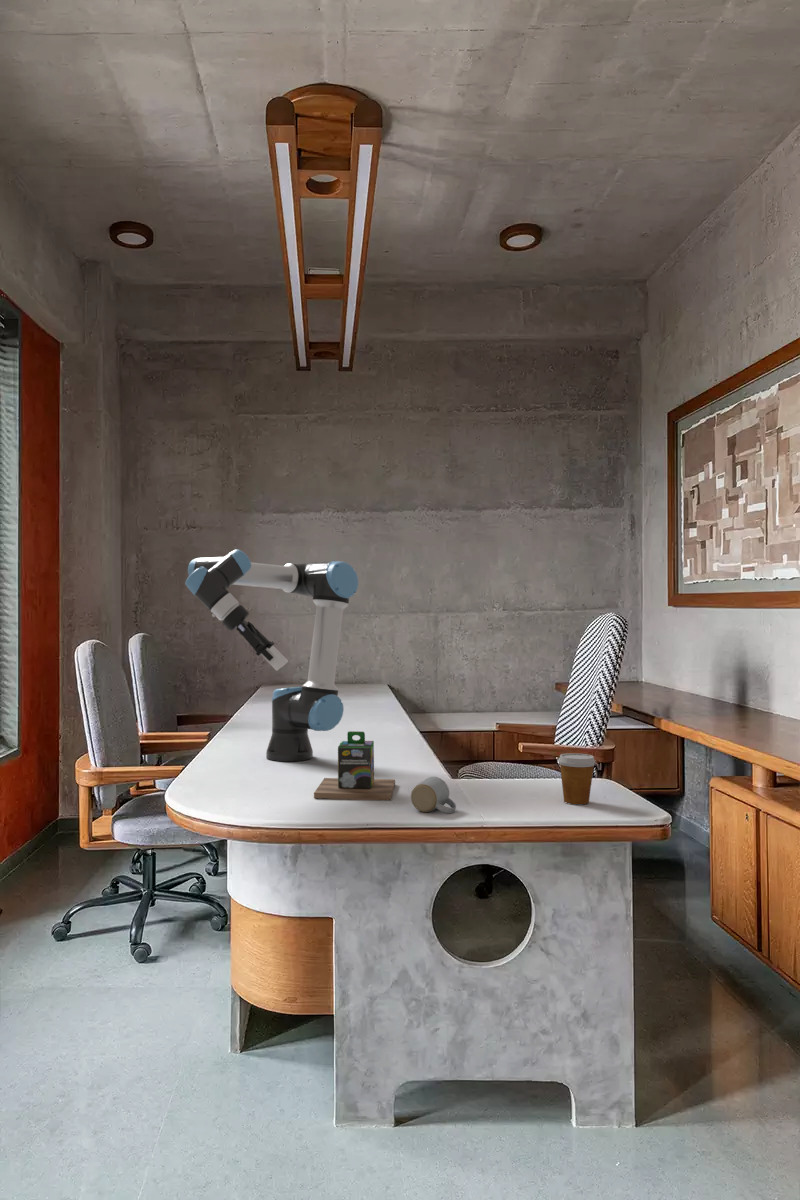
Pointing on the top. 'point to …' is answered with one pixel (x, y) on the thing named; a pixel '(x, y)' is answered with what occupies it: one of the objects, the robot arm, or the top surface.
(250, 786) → the top surface
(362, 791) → the walnut board
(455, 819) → the top surface
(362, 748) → the chalk box
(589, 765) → the disposable coffee cup
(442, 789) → the ceramic mug
